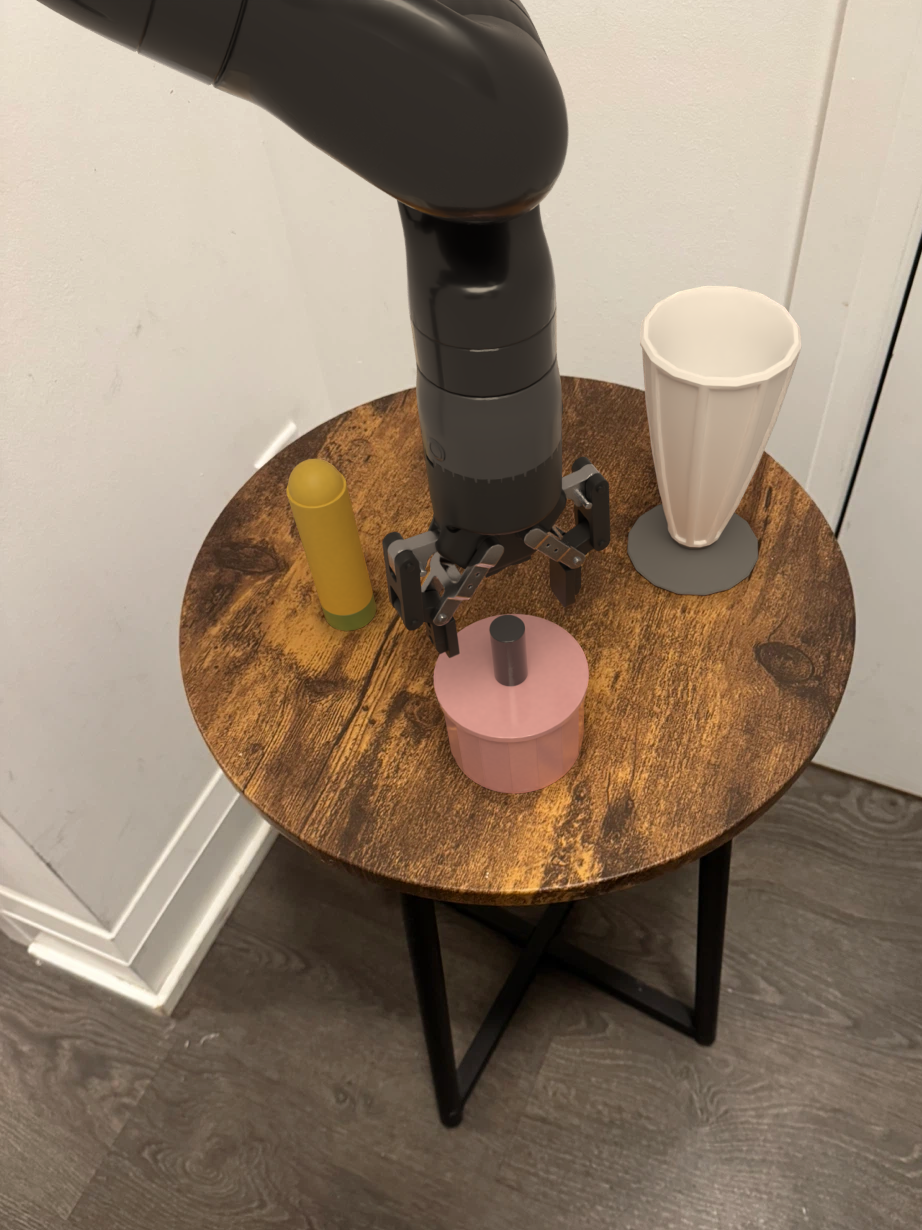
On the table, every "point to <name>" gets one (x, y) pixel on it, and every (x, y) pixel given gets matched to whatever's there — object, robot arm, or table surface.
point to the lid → (512, 678)
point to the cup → (708, 430)
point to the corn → (331, 543)
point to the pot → (518, 757)
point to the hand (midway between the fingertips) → (505, 622)
